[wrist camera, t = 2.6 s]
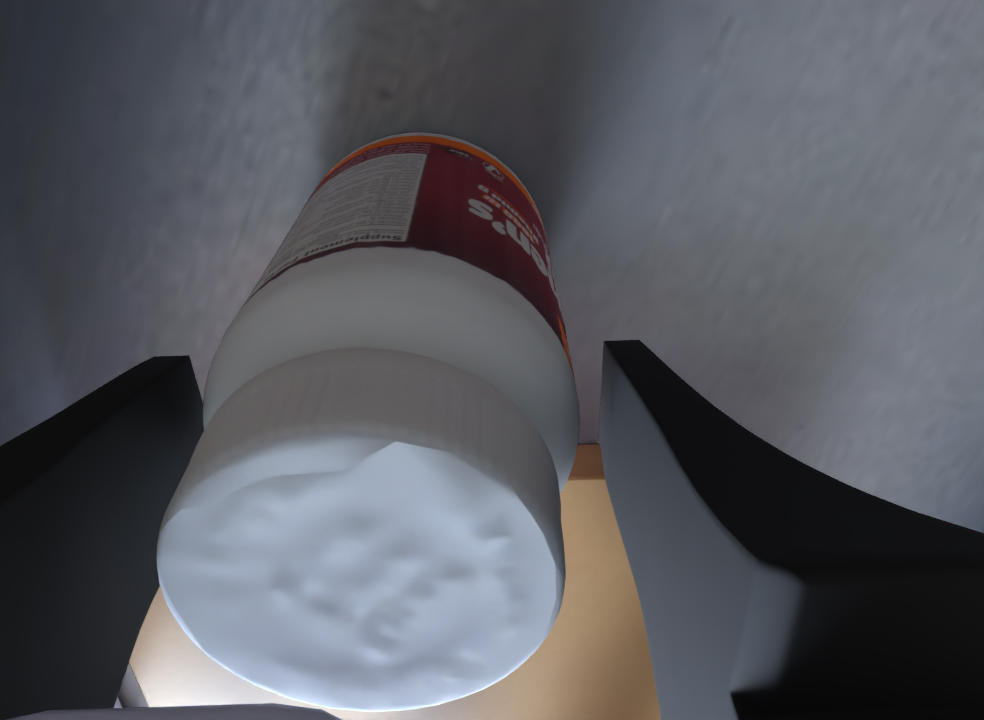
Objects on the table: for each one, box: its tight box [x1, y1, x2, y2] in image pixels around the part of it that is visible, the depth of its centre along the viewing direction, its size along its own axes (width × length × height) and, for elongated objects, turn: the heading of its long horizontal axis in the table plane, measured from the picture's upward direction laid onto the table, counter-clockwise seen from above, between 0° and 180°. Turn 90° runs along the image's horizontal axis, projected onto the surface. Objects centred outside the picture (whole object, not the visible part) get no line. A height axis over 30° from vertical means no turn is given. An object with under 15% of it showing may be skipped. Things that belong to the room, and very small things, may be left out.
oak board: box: [129, 444, 661, 720], centre depth 25 cm, size 20×14×2 cm
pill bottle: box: [156, 132, 579, 712], centre depth 14 cm, size 6×6×11 cm
